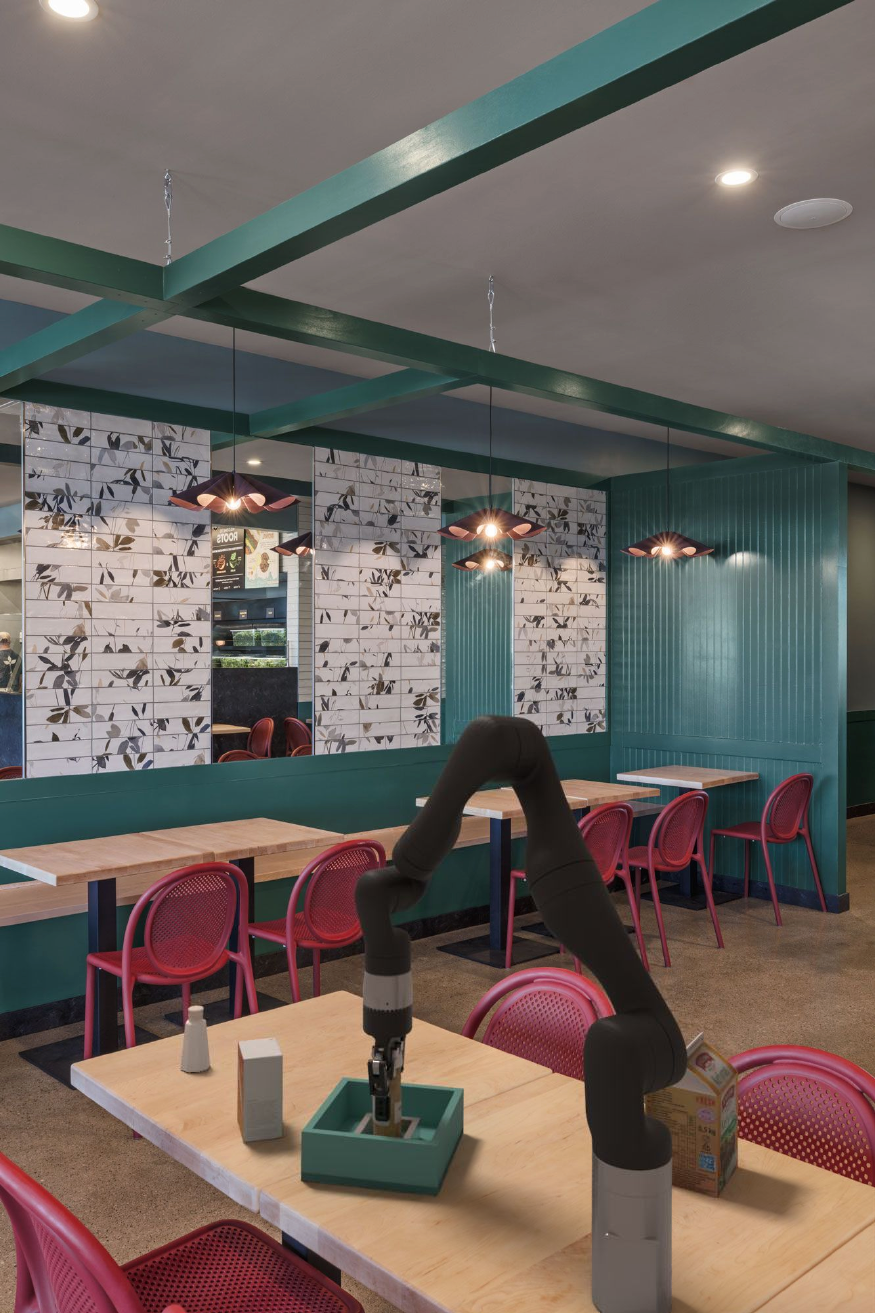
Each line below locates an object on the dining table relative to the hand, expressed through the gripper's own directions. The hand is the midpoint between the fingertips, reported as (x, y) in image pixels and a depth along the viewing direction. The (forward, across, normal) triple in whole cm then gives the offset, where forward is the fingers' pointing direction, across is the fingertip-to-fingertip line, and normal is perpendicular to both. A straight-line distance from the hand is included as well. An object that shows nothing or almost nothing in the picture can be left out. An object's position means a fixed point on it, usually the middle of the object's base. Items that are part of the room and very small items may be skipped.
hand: (387, 1112), depth 154 cm
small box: (+7, +4, +22) cm, 23 cm away
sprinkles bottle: (+4, 0, 0) cm, 4 cm away
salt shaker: (+7, +25, +43) cm, 50 cm away
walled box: (+6, 0, 0) cm, 6 cm away
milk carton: (+7, +5, -45) cm, 46 cm away
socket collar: (+5, 0, 0) cm, 5 cm away
